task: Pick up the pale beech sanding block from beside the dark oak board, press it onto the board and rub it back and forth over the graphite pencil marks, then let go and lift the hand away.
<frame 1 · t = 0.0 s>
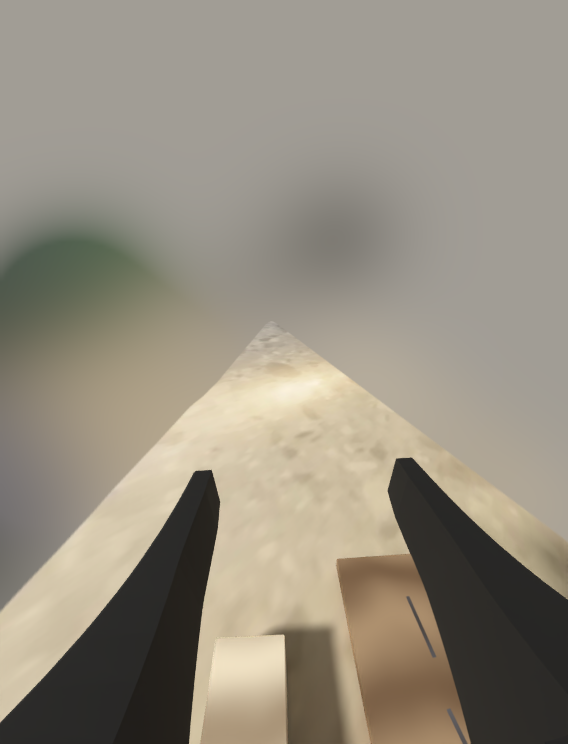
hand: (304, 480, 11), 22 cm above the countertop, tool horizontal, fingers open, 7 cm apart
oak board: (465, 711, 20), on the countertop
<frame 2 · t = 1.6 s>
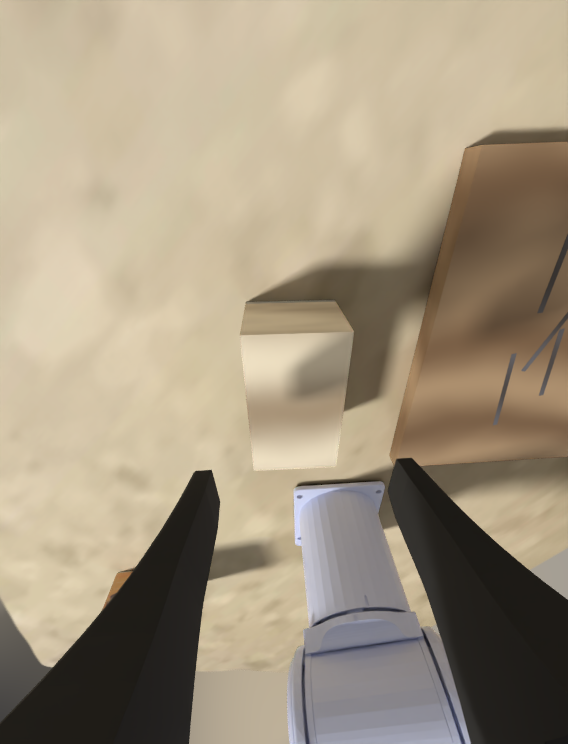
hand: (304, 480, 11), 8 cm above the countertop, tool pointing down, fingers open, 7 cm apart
small box: (160, 575, 33), on the countertop
oak board: (524, 342, 18), on the countertop
sanding block: (290, 366, 19), on the countertop
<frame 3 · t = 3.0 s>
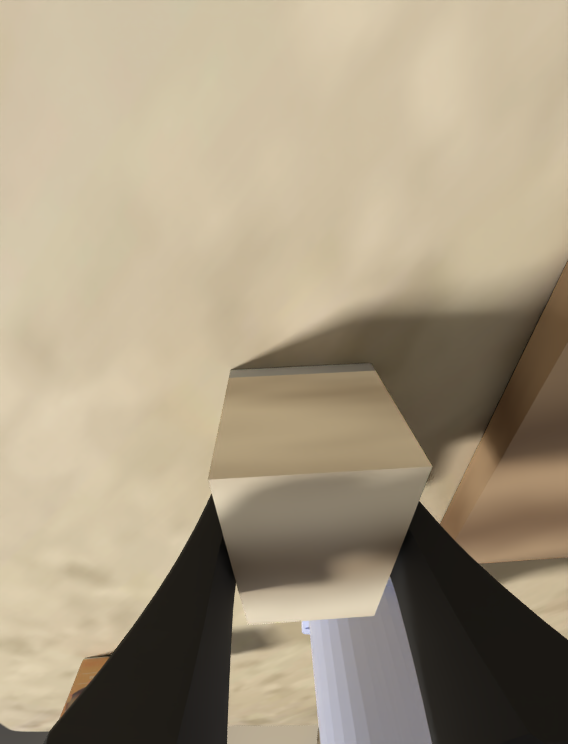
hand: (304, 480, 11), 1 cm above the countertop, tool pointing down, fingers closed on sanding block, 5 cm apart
small box: (137, 657, 28), on the countertop
sanding block: (300, 453, 12), on the countertop, touching gripper
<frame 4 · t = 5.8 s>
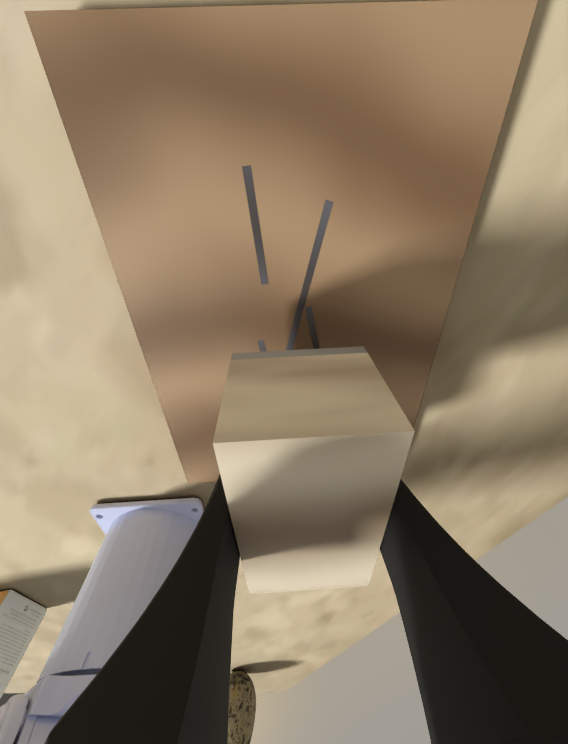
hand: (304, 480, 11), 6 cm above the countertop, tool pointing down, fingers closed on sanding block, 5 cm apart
decorative egg: (238, 669, 47), on the countertop
oak board: (291, 327, 14), on the countertop
sanding block: (298, 434, 13), point 4 cm above the countertop, touching gripper
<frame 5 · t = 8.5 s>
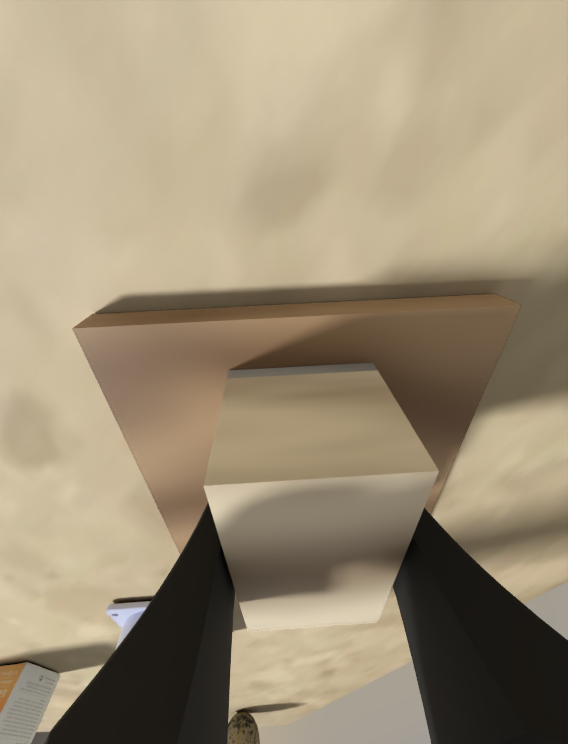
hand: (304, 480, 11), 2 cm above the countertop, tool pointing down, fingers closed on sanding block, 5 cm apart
decorative egg: (242, 709, 48), on the countertop
small box: (13, 668, 31), on the countertop
oak board: (299, 483, 15), on the countertop
sanding block: (301, 455, 12), point 1 cm above the countertop, touching gripper
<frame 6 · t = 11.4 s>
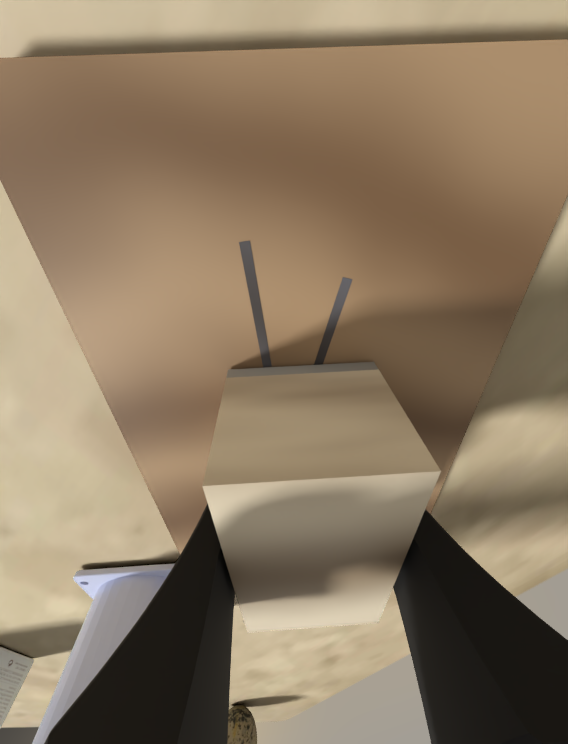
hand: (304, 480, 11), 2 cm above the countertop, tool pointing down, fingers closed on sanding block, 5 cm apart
decorative egg: (238, 703, 45), on the countertop
oak board: (297, 400, 12), on the countertop
sanding block: (301, 454, 12), point 1 cm above the countertop, touching gripper
when the fingers open (3 cm above the countertop, at t = 14.2 s): sanding block stays where it is, resting on oak board.
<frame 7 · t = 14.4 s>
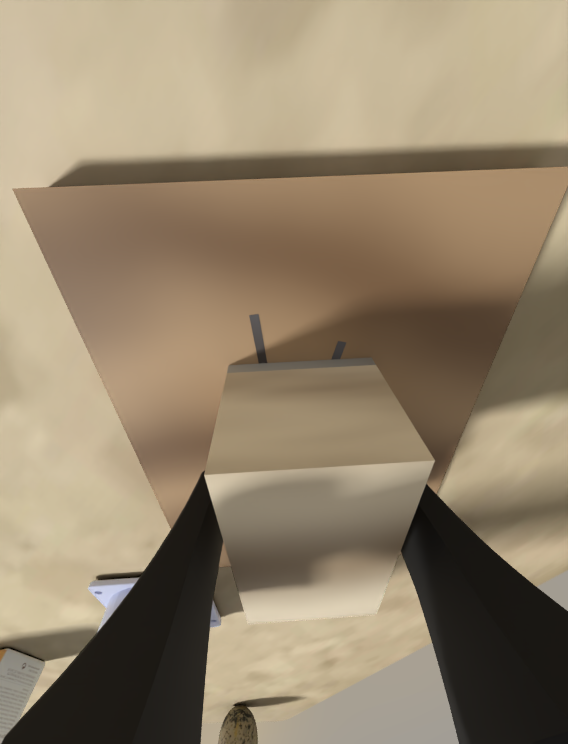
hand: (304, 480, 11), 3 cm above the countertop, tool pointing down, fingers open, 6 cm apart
decorative egg: (240, 703, 47), on the countertop
oak board: (298, 433, 13), on the countertop
sanding block: (300, 450, 12), point 1 cm above the countertop, touching oak board
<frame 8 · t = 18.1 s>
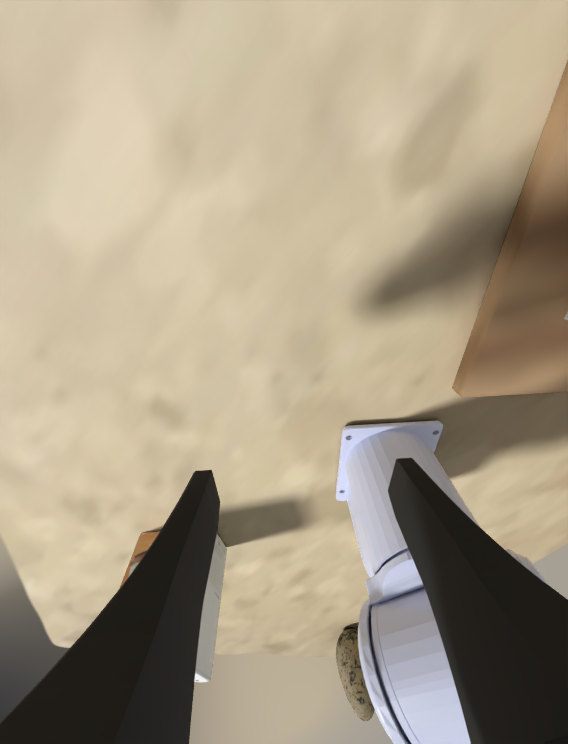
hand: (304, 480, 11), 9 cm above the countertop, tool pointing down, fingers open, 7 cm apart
decorative egg: (349, 627, 49), on the countertop
small box: (185, 538, 31), on the countertop
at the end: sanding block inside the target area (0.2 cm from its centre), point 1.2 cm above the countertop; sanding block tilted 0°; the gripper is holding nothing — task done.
